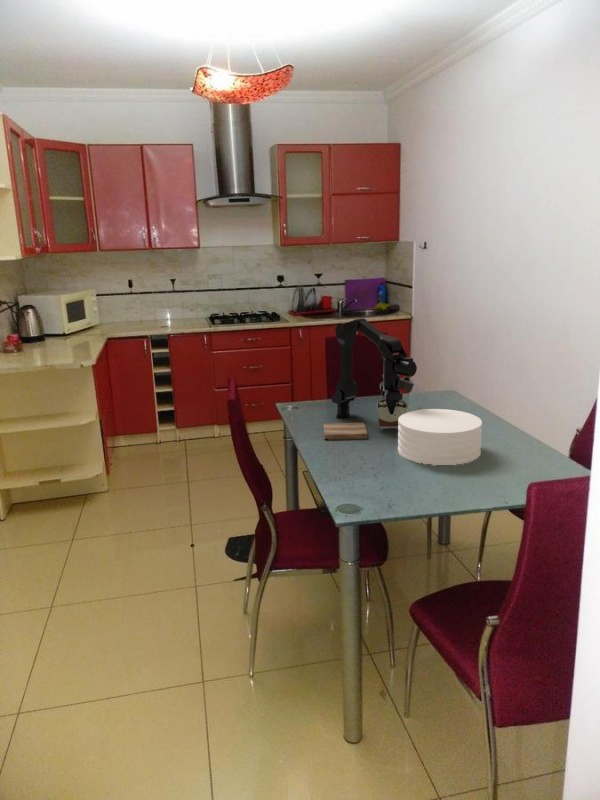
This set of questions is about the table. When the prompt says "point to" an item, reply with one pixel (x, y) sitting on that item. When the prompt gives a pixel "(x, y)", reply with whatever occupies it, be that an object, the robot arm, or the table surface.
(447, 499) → the table surface
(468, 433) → the plate stack
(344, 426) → the walnut block
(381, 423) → the food container
